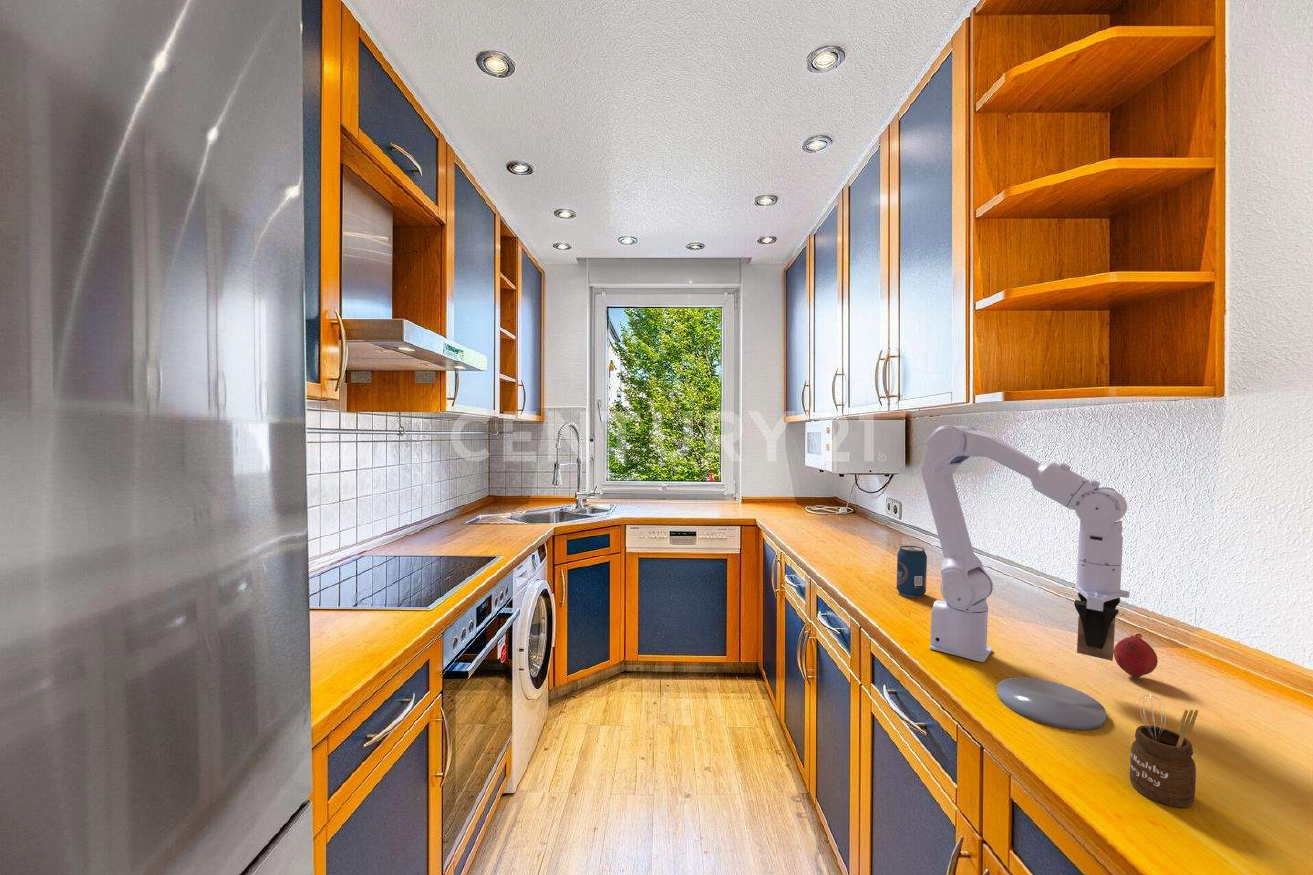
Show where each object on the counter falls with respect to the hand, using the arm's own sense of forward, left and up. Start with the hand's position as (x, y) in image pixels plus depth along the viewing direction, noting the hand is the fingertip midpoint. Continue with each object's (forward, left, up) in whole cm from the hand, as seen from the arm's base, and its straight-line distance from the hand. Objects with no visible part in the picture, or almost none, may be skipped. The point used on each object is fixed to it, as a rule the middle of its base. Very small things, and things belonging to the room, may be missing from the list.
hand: (1095, 642), depth 93 cm
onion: (+5, +11, -8) cm, 15 cm away
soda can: (-39, +33, -8) cm, 52 cm away
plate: (-5, -11, -8) cm, 15 cm away
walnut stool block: (0, 0, -2) cm, 2 cm away
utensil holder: (+8, -27, -8) cm, 29 cm away
